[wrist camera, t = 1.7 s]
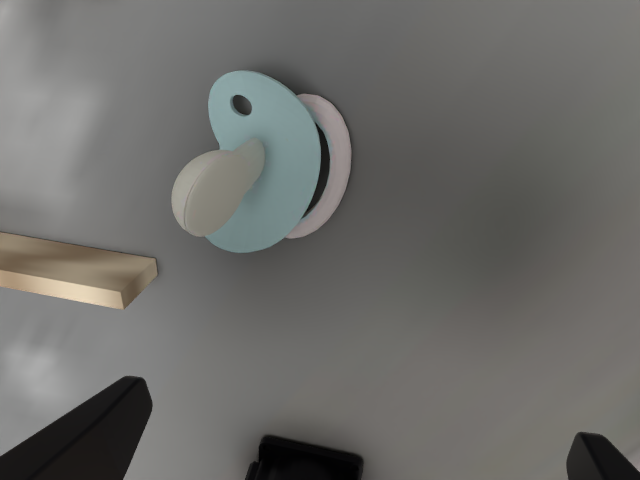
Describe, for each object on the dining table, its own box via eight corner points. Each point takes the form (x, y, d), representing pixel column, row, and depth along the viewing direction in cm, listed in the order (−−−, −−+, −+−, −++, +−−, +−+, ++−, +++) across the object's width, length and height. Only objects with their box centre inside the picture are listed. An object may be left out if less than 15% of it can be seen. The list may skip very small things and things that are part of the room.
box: (114, -47, 15) (54, -60, 13) (157, 274, 22) (123, 309, 19) (-140, -65, 17) (-242, -80, 14) (-26, 242, 23) (-81, 270, 21)
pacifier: (376, 100, 16) (229, 49, 16) (366, 145, 11) (145, 70, 11) (322, 253, 20) (202, 212, 20) (295, 343, 14) (129, 288, 14)
